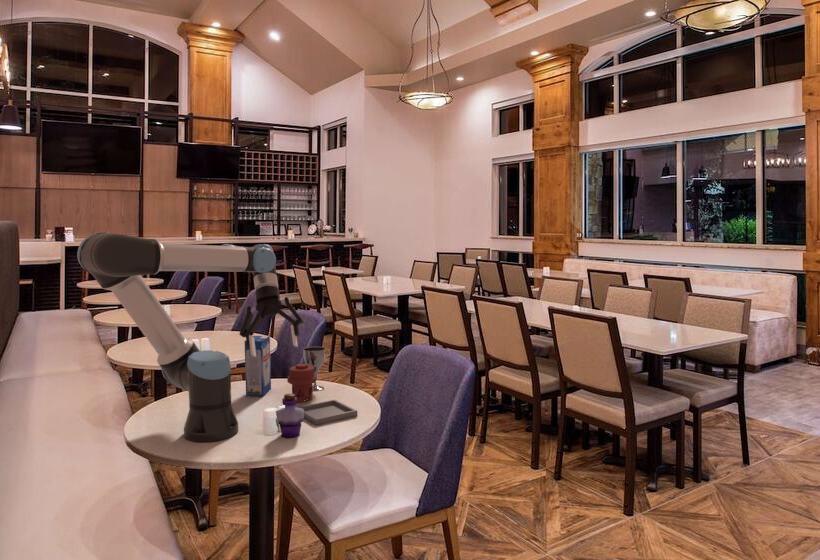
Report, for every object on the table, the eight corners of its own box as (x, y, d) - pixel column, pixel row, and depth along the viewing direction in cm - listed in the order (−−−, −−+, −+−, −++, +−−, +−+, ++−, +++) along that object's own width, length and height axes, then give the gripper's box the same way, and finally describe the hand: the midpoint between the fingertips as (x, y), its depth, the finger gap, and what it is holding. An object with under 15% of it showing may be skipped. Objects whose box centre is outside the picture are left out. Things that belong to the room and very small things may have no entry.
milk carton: (254, 388, 219) (253, 335, 217) (271, 389, 219) (269, 335, 217) (246, 396, 209) (244, 341, 207) (263, 397, 209) (261, 341, 207)
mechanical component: (319, 395, 210) (314, 404, 200) (291, 395, 211) (284, 404, 201) (318, 361, 209) (313, 368, 199) (290, 361, 209) (284, 368, 199)
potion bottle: (270, 434, 172) (269, 393, 171) (296, 427, 178) (295, 388, 177) (283, 442, 166) (282, 400, 164) (310, 435, 171) (310, 395, 170)
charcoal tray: (316, 425, 180) (316, 419, 179) (295, 412, 191) (295, 407, 191) (357, 416, 188) (357, 410, 188) (334, 404, 200) (334, 399, 200)
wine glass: (311, 384, 225) (310, 345, 223) (329, 386, 222) (329, 347, 220) (300, 390, 217) (299, 350, 216) (319, 392, 214) (318, 351, 213)
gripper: (306, 284, 196) (316, 344, 188) (234, 302, 197) (240, 363, 188) (300, 276, 189) (309, 338, 181) (225, 294, 190) (231, 357, 182)
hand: (274, 351), depth 185 cm, fingers open, 13 cm apart
